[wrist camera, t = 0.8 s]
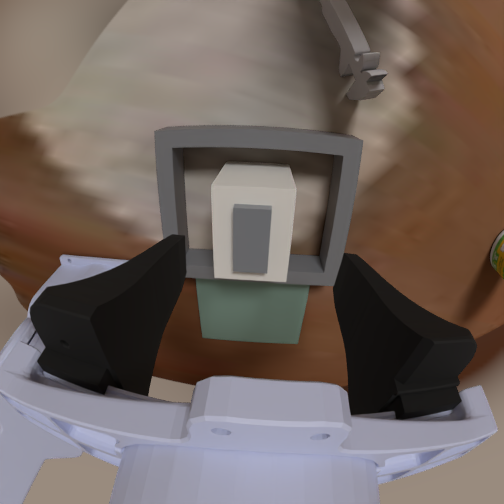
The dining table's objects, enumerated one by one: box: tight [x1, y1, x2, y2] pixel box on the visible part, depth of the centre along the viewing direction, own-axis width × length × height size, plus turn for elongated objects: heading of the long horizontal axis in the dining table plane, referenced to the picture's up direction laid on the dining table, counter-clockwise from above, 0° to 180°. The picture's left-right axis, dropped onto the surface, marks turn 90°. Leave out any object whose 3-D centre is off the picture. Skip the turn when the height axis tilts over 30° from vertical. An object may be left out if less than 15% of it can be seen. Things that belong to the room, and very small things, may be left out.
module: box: [211, 161, 297, 282], centre depth 18 cm, size 4×6×7 cm
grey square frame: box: [154, 125, 363, 286], centre depth 20 cm, size 13×11×2 cm
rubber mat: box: [196, 278, 310, 344], centre depth 26 cm, size 10×8×1 cm
